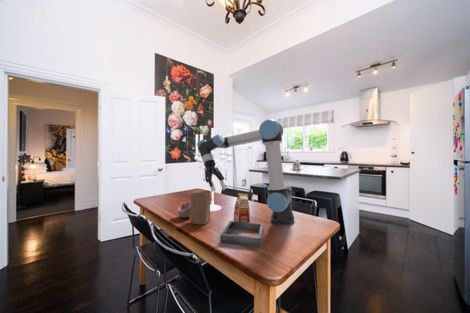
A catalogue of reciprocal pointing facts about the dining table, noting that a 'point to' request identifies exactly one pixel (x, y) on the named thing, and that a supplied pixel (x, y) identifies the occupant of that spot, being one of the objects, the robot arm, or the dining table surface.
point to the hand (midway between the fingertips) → (219, 190)
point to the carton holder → (239, 238)
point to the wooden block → (200, 207)
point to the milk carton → (242, 209)
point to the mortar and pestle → (184, 210)
